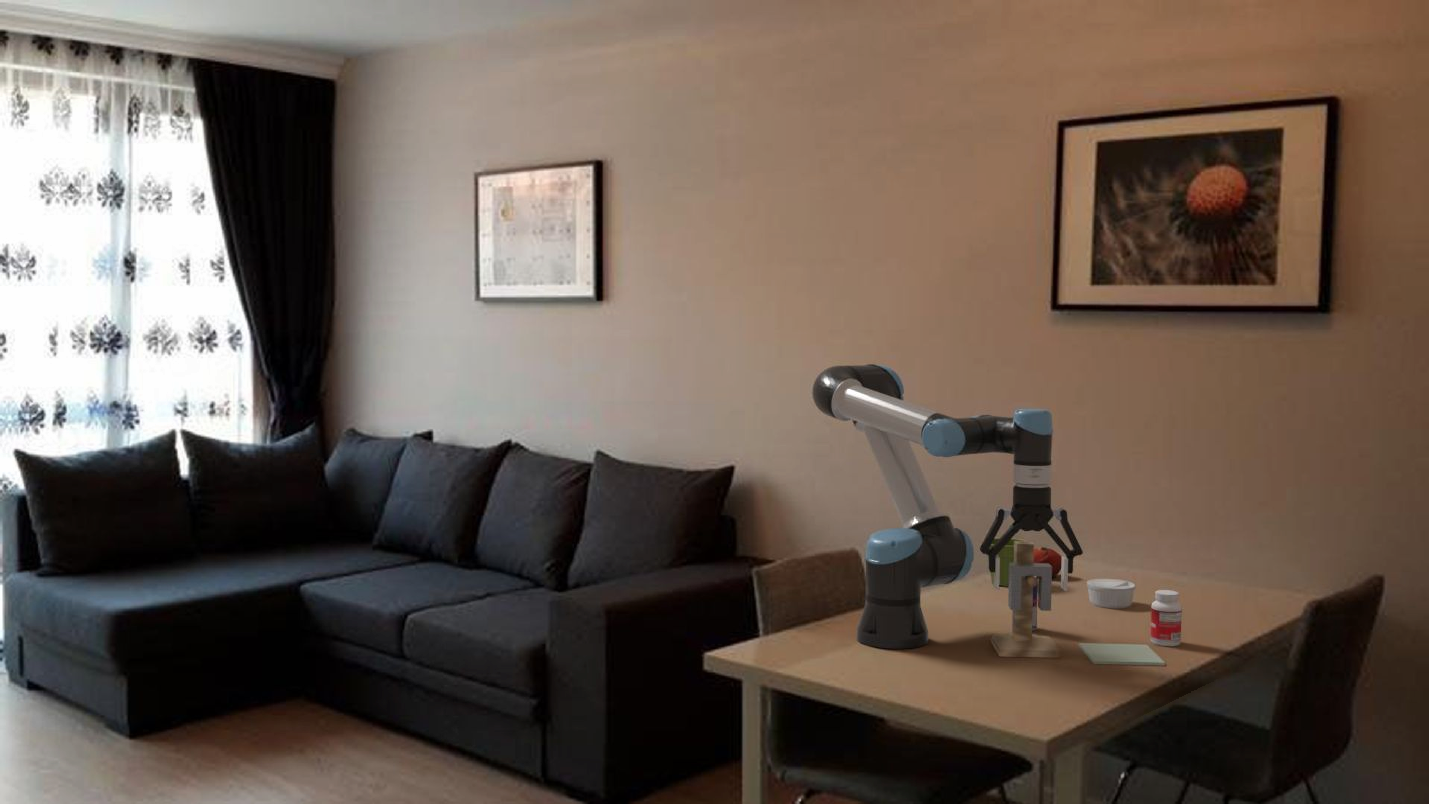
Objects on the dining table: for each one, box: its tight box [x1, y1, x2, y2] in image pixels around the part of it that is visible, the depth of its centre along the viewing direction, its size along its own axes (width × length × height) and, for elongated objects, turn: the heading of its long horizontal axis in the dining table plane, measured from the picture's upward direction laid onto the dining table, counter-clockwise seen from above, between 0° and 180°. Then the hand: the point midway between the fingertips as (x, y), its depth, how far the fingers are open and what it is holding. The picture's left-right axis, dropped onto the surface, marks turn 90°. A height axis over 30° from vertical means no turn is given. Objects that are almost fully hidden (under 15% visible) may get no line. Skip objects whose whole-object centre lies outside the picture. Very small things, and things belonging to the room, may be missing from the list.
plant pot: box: [987, 537, 1027, 587], centre depth 331 cm, size 12×12×11 cm
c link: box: [1007, 563, 1053, 612], centre depth 260 cm, size 8×4×9 cm, turn 86°
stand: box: [990, 540, 1060, 659], centre depth 264 cm, size 12×15×22 cm
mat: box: [1078, 642, 1166, 666], centre depth 262 cm, size 14×14×1 cm
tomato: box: [1034, 546, 1062, 578], centre depth 341 cm, size 9×9×8 cm
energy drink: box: [1011, 576, 1039, 632], centre depth 283 cm, size 5×5×12 cm
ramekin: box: [1086, 578, 1136, 609], centre depth 308 cm, size 11×11×5 cm
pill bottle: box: [1150, 589, 1183, 648], centre depth 271 cm, size 6×6×11 cm
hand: (1030, 588), depth 260 cm, fingers open, 13 cm apart
